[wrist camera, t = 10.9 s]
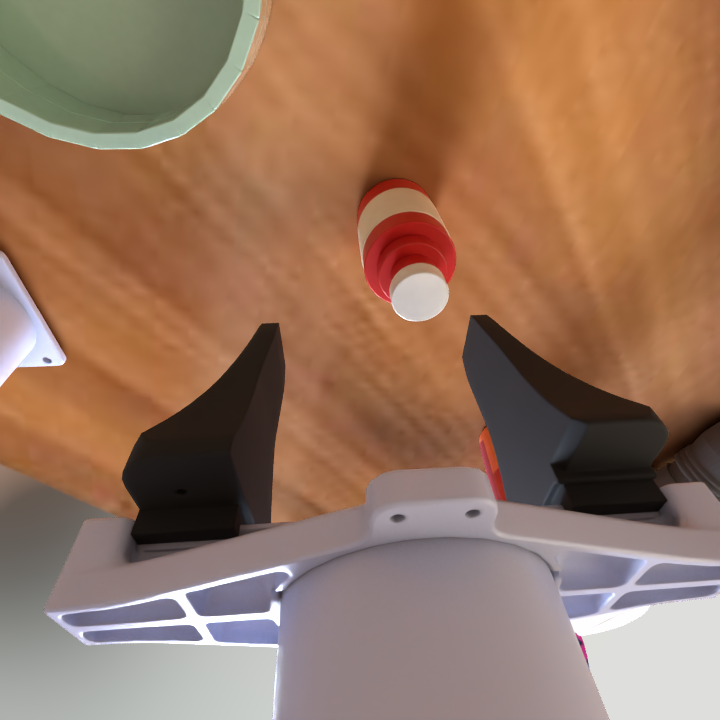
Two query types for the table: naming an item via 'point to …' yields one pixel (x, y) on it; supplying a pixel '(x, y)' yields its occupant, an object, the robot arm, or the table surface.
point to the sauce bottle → (405, 249)
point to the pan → (123, 65)
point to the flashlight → (696, 463)
